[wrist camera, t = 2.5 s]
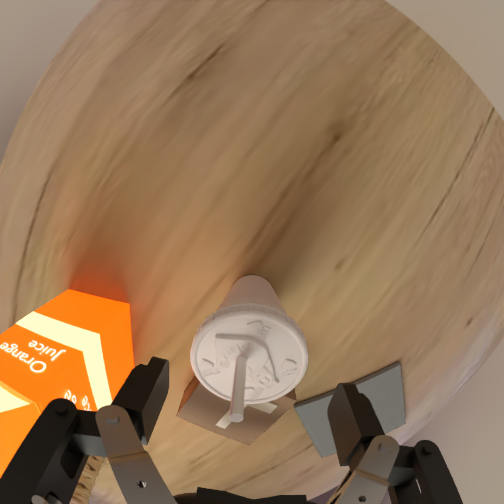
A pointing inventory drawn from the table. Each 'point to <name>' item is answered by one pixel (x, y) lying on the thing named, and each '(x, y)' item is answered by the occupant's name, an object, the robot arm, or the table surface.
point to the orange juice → (61, 361)
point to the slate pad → (375, 389)
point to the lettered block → (218, 409)
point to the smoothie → (249, 347)
